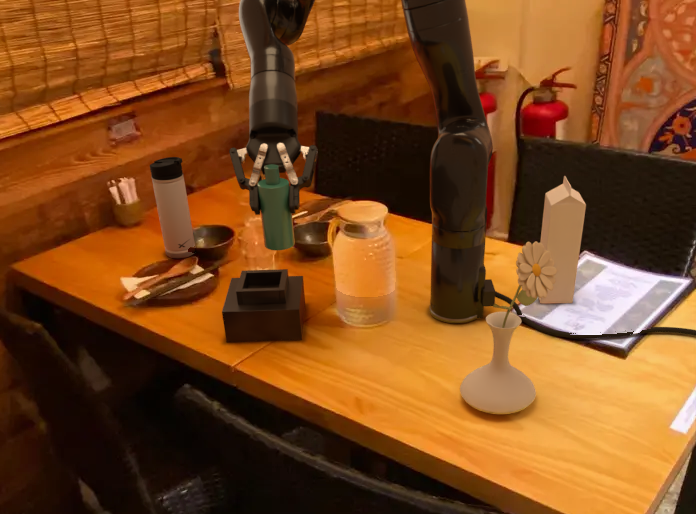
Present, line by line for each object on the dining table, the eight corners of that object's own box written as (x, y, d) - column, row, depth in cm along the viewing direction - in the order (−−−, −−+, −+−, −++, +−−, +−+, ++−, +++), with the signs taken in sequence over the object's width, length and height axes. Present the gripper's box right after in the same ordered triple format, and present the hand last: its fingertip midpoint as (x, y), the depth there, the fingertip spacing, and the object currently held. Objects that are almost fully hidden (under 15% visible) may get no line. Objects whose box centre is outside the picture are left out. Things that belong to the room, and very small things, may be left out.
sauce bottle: (295, 237, 126) (288, 160, 119) (293, 249, 122) (286, 171, 115) (266, 238, 126) (257, 161, 119) (263, 251, 122) (253, 172, 115)
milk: (540, 304, 144) (552, 187, 131) (535, 289, 149) (546, 175, 136) (573, 303, 144) (588, 186, 131) (567, 288, 149) (581, 174, 136)
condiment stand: (305, 305, 145) (302, 262, 140) (301, 340, 135) (298, 296, 130) (235, 307, 145) (229, 265, 140) (226, 342, 134) (219, 298, 129)
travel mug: (190, 260, 163) (174, 164, 151) (161, 257, 164) (142, 163, 152) (202, 247, 168) (187, 154, 156) (173, 245, 169) (156, 153, 157)
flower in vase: (482, 429, 113) (494, 270, 98) (446, 389, 121) (452, 238, 107) (559, 407, 117) (580, 252, 102) (518, 370, 125) (533, 222, 111)
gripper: (222, 98, 119) (223, 203, 116) (317, 95, 119) (319, 200, 116) (232, 124, 126) (232, 223, 123) (320, 121, 126) (323, 220, 123)
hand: (274, 211), depth 119 cm, fingers closed on sauce bottle, 5 cm apart
